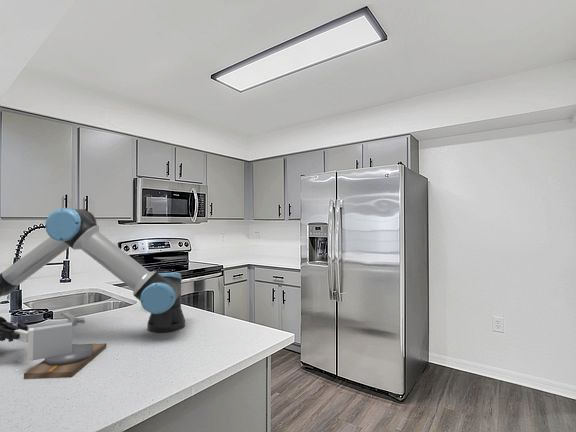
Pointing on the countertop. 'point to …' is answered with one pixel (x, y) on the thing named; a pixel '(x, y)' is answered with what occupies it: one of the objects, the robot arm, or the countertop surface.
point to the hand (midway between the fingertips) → (28, 337)
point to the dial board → (62, 366)
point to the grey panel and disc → (56, 345)
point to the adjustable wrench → (72, 318)
